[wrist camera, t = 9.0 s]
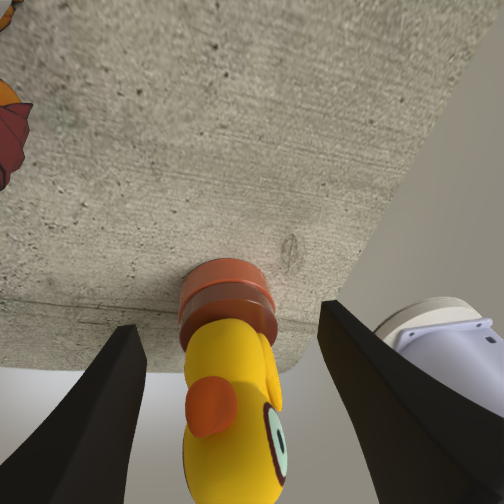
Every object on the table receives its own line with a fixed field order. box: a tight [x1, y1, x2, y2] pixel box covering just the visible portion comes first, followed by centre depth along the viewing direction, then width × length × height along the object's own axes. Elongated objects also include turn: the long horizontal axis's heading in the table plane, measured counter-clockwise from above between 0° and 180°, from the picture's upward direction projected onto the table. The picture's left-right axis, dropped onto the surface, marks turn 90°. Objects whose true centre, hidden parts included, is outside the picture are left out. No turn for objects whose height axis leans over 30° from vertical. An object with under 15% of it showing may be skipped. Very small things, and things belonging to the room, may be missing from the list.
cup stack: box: [178, 258, 278, 353], centre depth 22 cm, size 7×7×4 cm
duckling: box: [182, 318, 287, 504], centre depth 16 cm, size 11×5×10 cm, turn 15°
